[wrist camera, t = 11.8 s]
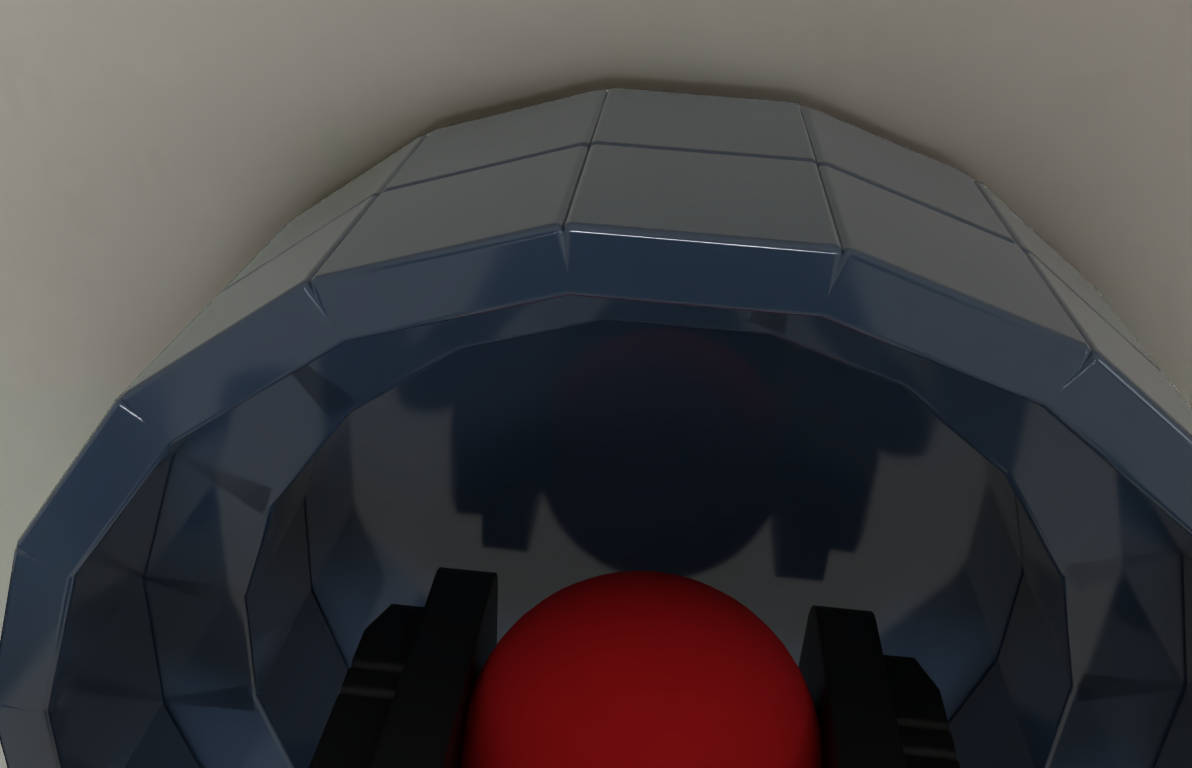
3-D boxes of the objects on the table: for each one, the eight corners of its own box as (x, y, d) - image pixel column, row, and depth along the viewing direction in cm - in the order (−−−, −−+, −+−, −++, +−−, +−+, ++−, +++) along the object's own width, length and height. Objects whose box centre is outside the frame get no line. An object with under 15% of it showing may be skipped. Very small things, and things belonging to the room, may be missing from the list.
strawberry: (830, 518, 13) (886, 823, 9) (783, 762, 15) (814, 1101, 11) (493, 487, 13) (408, 772, 9) (489, 732, 15) (418, 1055, 11)
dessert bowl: (1301, 127, 12) (1634, 314, 8) (1018, 912, 18) (1115, 1260, 14) (135, 36, 13) (-159, 162, 9) (241, 824, 19) (102, 1131, 15)
